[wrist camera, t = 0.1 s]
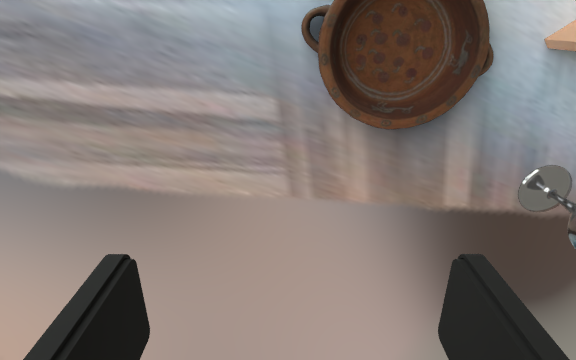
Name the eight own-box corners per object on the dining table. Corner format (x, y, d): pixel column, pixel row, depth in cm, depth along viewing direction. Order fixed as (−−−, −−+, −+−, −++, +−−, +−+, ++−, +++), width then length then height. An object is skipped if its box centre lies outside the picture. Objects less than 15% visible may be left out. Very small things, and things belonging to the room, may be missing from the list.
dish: (456, 131, 47) (473, 143, 43) (288, 104, 46) (288, 114, 42) (509, -20, 40) (537, -25, 36) (313, -56, 39) (316, -66, 35)
